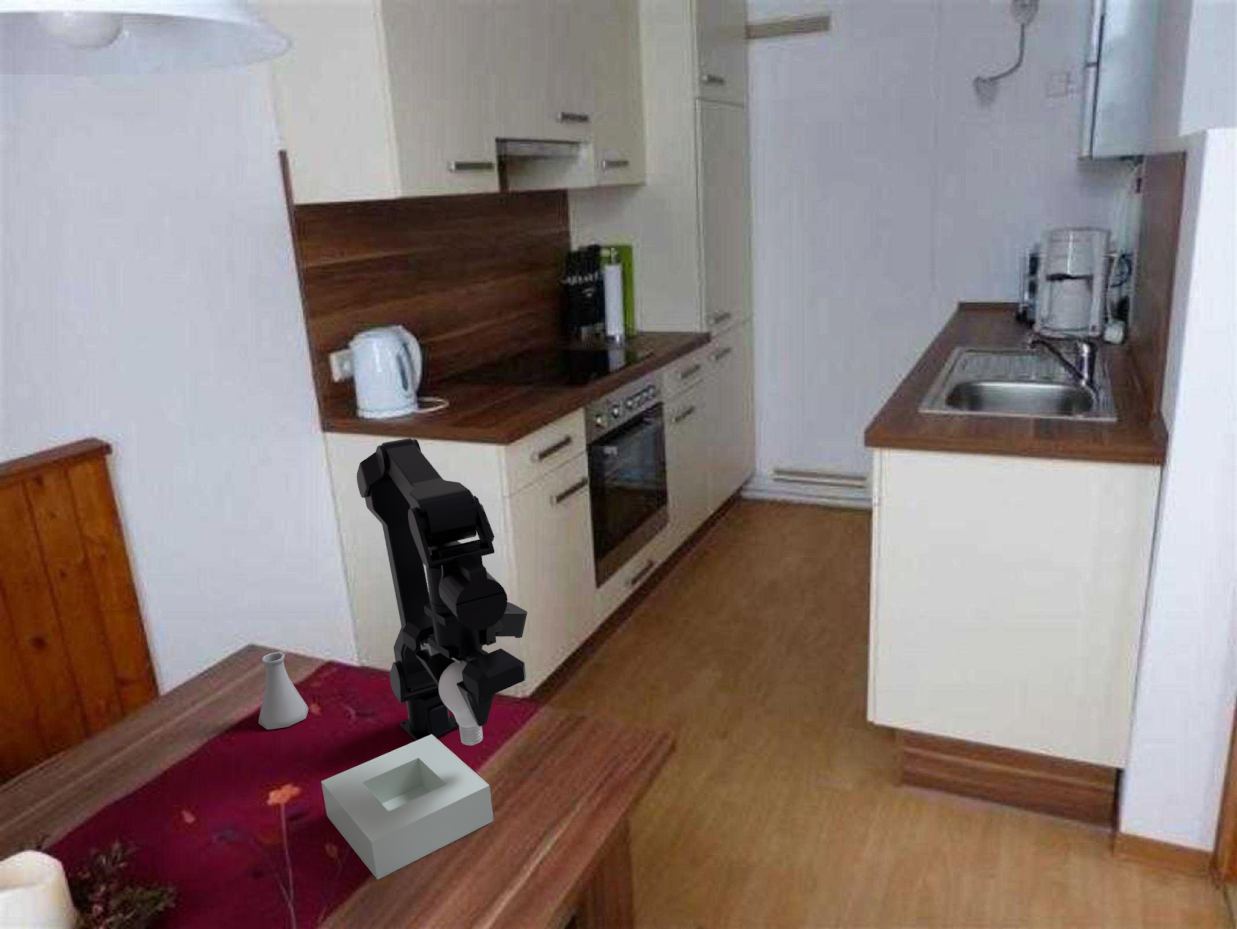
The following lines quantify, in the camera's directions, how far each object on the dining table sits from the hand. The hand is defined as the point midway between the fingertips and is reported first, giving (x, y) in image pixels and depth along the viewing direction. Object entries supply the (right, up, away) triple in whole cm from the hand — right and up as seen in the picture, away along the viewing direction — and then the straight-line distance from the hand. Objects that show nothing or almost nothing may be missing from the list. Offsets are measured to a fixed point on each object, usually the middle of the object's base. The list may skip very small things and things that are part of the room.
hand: (468, 714), depth 113 cm
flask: (-32, -8, +27) cm, 42 cm away
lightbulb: (0, -4, +1) cm, 4 cm away
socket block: (-8, -13, +2) cm, 15 cm away
